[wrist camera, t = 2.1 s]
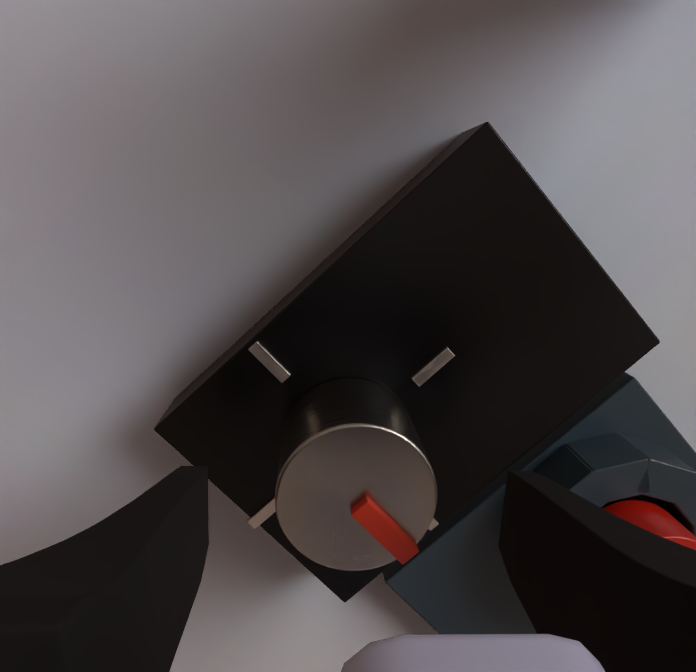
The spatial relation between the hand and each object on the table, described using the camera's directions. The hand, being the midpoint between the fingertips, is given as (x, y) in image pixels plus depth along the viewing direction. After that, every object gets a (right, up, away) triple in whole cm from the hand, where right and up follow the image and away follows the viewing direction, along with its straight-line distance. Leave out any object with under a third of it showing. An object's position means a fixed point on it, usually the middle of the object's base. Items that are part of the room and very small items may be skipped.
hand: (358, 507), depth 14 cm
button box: (+7, -3, +8) cm, 11 cm away
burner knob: (0, +1, +4) cm, 4 cm away
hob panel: (+1, +3, +6) cm, 7 cm away
